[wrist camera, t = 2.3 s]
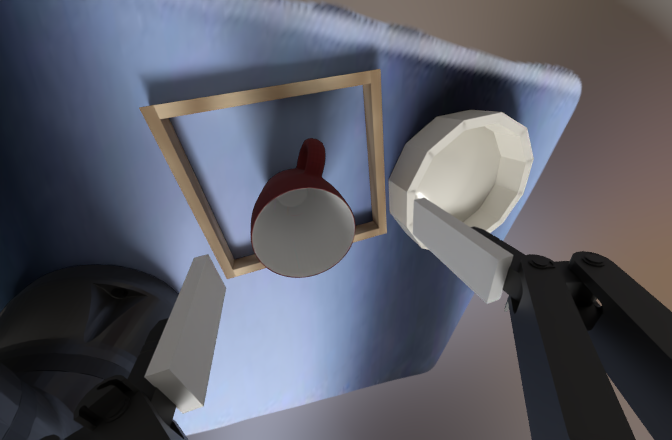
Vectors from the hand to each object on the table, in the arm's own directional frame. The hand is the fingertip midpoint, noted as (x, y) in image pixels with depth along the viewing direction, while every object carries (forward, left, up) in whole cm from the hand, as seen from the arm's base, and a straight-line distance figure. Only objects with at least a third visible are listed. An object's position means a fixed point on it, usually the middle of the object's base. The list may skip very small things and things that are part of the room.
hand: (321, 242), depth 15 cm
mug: (0, 0, -13) cm, 13 cm away
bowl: (+20, -5, -13) cm, 24 cm away
